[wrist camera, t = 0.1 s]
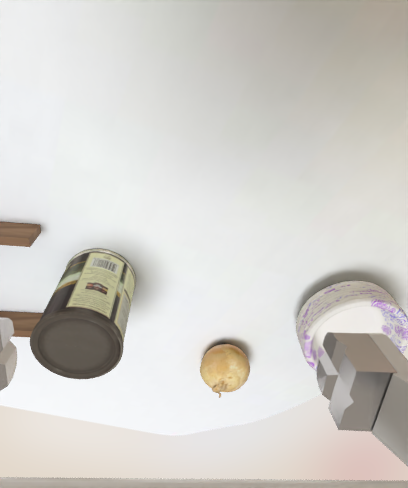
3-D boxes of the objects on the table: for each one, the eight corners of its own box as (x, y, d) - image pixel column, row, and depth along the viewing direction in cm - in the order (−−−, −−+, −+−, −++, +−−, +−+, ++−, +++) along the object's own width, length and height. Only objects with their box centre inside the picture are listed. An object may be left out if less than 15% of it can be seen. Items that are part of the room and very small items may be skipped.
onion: (210, 331, 61) (213, 364, 54) (254, 343, 62) (262, 377, 56) (193, 365, 64) (194, 400, 58) (235, 375, 66) (240, 410, 60)
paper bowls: (270, 315, 59) (282, 351, 52) (343, 250, 54) (367, 281, 47) (332, 357, 65) (350, 396, 58) (404, 302, 59) (434, 336, 52)
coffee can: (74, 309, 57) (43, 383, 45) (57, 251, 52) (17, 316, 40) (141, 304, 57) (129, 376, 45) (130, 245, 52) (114, 308, 40)
